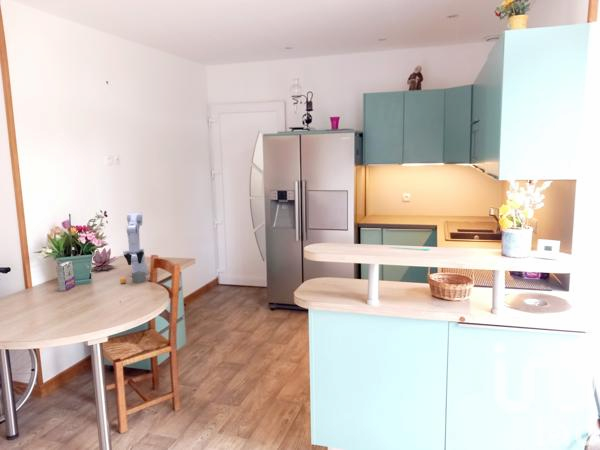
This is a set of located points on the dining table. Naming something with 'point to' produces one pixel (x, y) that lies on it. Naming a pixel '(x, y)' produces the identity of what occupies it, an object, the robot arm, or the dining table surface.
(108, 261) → the decorative flower
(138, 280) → the grey cube
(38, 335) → the dining table surface
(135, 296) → the dining table surface
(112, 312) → the dining table surface
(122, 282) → the ball
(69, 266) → the candy bar box
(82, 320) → the dining table surface
